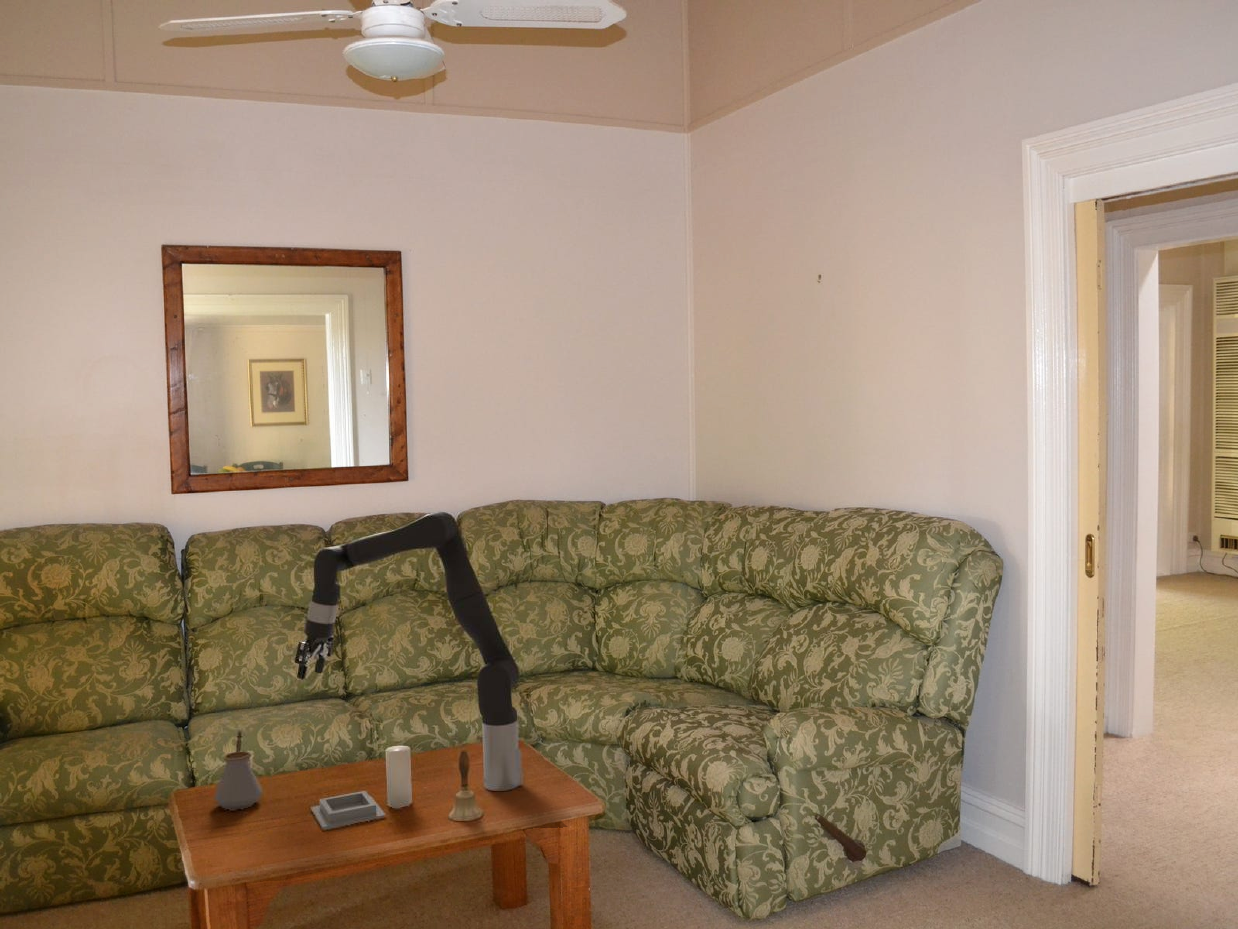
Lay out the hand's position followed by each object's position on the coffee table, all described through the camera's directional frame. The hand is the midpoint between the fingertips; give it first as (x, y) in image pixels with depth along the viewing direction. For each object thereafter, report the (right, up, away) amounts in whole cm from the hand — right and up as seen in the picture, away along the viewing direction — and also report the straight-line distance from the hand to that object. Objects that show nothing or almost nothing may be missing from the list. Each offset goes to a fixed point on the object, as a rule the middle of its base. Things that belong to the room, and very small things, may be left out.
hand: (309, 675), depth 288 cm
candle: (+29, -28, -22) cm, 46 cm away
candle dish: (+18, -29, -28) cm, 44 cm away
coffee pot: (-14, -29, -15) cm, 35 cm away
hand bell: (+47, -28, -31) cm, 63 cm away
